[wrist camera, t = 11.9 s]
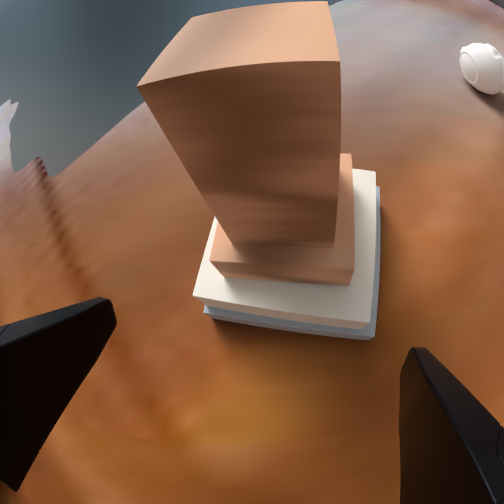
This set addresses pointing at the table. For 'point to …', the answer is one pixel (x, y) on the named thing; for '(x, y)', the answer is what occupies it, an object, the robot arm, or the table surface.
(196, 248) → the table surface
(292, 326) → the tower base
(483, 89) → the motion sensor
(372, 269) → the white square slab
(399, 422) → the robot arm
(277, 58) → the pillar
